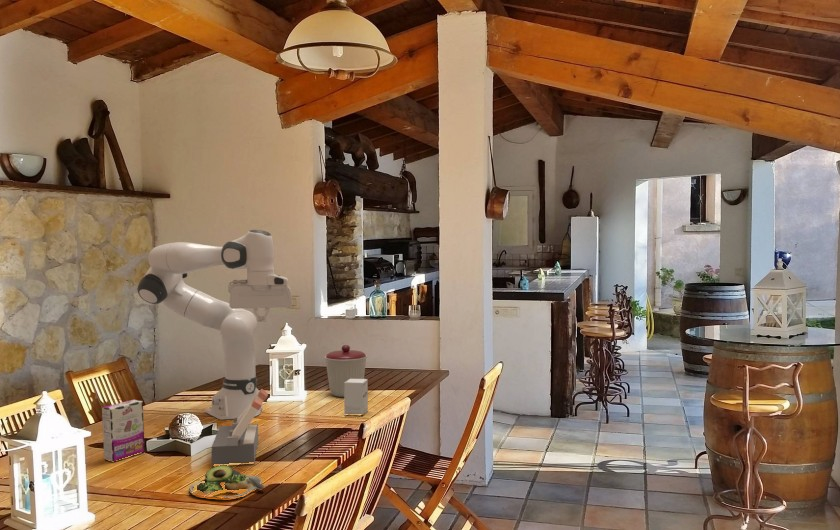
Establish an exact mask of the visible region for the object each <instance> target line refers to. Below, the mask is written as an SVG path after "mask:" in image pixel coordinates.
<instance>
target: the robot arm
mask: <svg viewBox="0 0 840 530" xmlns="http://www.w3.org/2000/svg"><path fill="white" fill-rule="evenodd" d="M273 239H274V238H273V236H272V234H271V233H270V232H269V231H266V230H261V229H250V230H248V231H247V232H246V234H243V236H241V237H238V238H236V239H233V240H230V241H227V242H225V243H224V245H223V246H216V245H215V246H214V245H207V244H202V243H201V244H200V243H195V242H189V241H188V242H186V241H176V242H169V243H164V244H160V245H157V246H155V247H153V248H152V249H151V250H150V252H149V254H148V264H149V265H150V266H149V268H148V269H147V271H146V273H144V275H143V277H142V278H141V279H140V280H139V282H138V285H137V289H136V291H137V293H138V296H139V297H140V299H142V300H143V301H145V302H146V303H149V304H153V305H159V304H161V303H162V304H163V305H164V306H166V307H167V308H168V309H170V310H171V311H173V312H175V313H176V314H178V315H180V316H182V317H184V318H187V319H188V320H191V322H192V321H193V322H194V323H196V324H199V325H201V326H203V327H207V328H210V329H212V330H213V329H214V330H217V331H220V335H221V340H222V347H223V348H222V349H223V355H224V371H225V373H224V375H225V376H224V378H221V379H220V380H221V383H222V386H221V389H219V390H218V391H217V392H216V393H215V394H214V395H213V396H212V399H211V407H208V408H206V409H205V414H208V415H210V416H211V417H214V418H216V419H218V420H223V421H224V420H234V418H235V417H239V416H240V415H241V414H242V412H243V411H244V410H245V409H246V408H247V406H248V405H249V404H250V403H251V401H252V400H253V399H254V398H255V397H256V395H257V394H258V392H259V391H260V390H259V389H258V388H257V386H258V377H257V375H256V371H257V370H256V353H255V349H254V343H253V342H254V341H253V335H254V333H255V332H256V330H257V328H258V327H257V326H258V323H264V322H267V316H268V314H269V312H270V309H271V308H277V309H278V308H291V307H292V306H293V295H292V289H291V287H290V285H288V284H289V279H288V277H286V276H283V275H280V274H275V273H276V272H275V267H274V259H275V245H274V240H273ZM223 265H224V266H225V267H226V268H228V269H231V270H244V269H246V279H240V280H238V279H234V280H232V281H230V282H229V283H228V286H227V287H228V288H227V289H228V290H227V291H228V293H229V302H226V301H223V300H221V299H218V298H215V297H213V296H211V295H210V294H207V293H206V292H203V291H201V290H199V289H196V288H194V287H192V286H190V285H188V284H187V283H185V281H184V279H185V278H187V277H188V273H189V274H190V273H193V272H197V271H201V270H205V269H209V268H213V267H217V266H223ZM247 309H253V312H252V311H250V310H247ZM259 309H264V311H265V313H264V315H259V313H258V311H259ZM262 411H263V406H261V408H260V409H259V410H258V412H257V413H256V415H255V416H254V417H257V416H260V415H261V413H262Z"/></svg>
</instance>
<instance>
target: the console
mask: <svg viewBox="0 0 840 530" xmlns="http://www.w3.org/2000/svg"><path fill="white" fill-rule="evenodd" d="M237 419H238V417H235V418H234V419H233V422H232V423H231V425H220V426H219V428H218V430H217V432H216V435H215V438H214V440H213V442H212V444H211V466H212V465H214V464H229V463H249V462H254V461H255V462H256V458H255V455H256V456H257V452H256V450H257V451H258V447H257V445H259V424H258V423H255V424H251V423H250V424H249V425H248V427H247V428H246V430H245V431H244V433H243V434H242V436H241V437H240V439H239V440H238V436H233V437H232V433H233V431H234V429H235V428H236V426H237V425H238V423H236V422H237Z"/></svg>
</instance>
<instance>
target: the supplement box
mask: <svg viewBox="0 0 840 530" xmlns="http://www.w3.org/2000/svg"><path fill="white" fill-rule="evenodd" d="M368 382H369V380H368V378H367V379H366V378H364V379H349V380H347V381H346V382H344V397H343V399H344V401H343V402H344V404H343V405H344V410H343V411H344V413H343V415H344V414H364V413H365V412H366V411H367V410H368V408H369V406H368V405H369V403H368V402H369V397H368V396H369V395H368V394H369V391H368V390H369V386H368V385H369V384H368ZM368 411H369V410H368ZM368 411H367V412H368ZM367 412H366V413H367ZM366 413H365V414H366ZM365 414H364V415H365Z"/></svg>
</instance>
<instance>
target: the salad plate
mask: <svg viewBox="0 0 840 530" xmlns="http://www.w3.org/2000/svg"><path fill="white" fill-rule="evenodd" d="M202 481H205V483H200V482H202ZM221 482H225V484H224V485H225V489H227V490H239V489H248V491H246V492H244V493H242V494H238V495H236V494H235V495H226V496H223V497H224V498H225V497H226V498H228V497H238V496H242V495H244V494H247V493H248V492H250V491H251V490H255V489H258V490H263V489H265V488H266V486H265V485H263V484H262V483H263V482H262V479H261V477H259V476H255V475H247V474H244V473H241V472H240V471H238V470H235V469H233V468H232V466H227V465H220V466H216V467H211V468H210V469H209V470H207V471H206V473H205V475H204V479H203V480H201V481H198V482H196V483H194V484H191V486H189V488H188V491H189V490H190V491H191V492H193V488H194V486H195V485H197V484H198V483H200V484H199V485H197V490H200V491H202V492H203V493H211V492H215V491H218V490H223V488H222V486H221V485H220V483H221ZM193 493H195V492H193Z"/></svg>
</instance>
